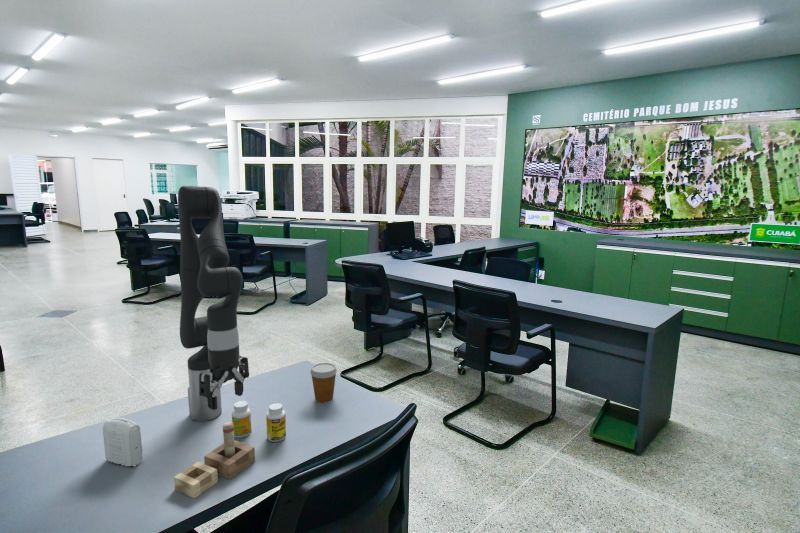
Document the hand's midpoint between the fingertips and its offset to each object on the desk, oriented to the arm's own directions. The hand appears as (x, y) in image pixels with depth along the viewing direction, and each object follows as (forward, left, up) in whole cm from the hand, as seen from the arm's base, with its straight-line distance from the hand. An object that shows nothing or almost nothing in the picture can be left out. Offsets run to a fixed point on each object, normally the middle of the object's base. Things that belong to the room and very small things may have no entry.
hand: (226, 401), depth 116 cm
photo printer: (-27, -12, -19) cm, 35 cm away
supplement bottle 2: (+2, +16, -19) cm, 25 cm away
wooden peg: (0, 0, -19) cm, 19 cm away
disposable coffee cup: (0, +43, -19) cm, 47 cm away
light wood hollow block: (-1, -10, -19) cm, 21 cm away
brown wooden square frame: (0, 0, -19) cm, 19 cm away
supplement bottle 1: (-9, +13, -19) cm, 24 cm away
